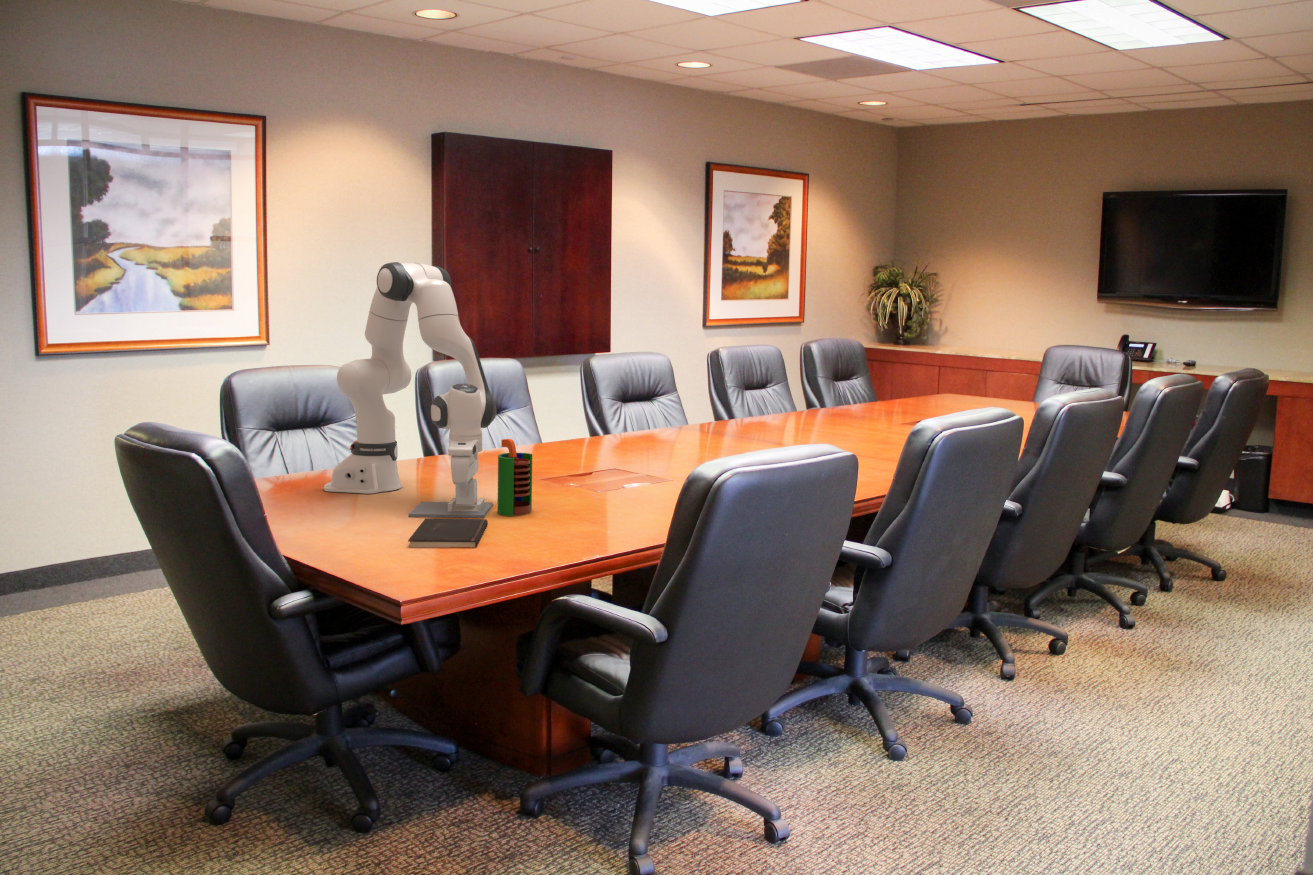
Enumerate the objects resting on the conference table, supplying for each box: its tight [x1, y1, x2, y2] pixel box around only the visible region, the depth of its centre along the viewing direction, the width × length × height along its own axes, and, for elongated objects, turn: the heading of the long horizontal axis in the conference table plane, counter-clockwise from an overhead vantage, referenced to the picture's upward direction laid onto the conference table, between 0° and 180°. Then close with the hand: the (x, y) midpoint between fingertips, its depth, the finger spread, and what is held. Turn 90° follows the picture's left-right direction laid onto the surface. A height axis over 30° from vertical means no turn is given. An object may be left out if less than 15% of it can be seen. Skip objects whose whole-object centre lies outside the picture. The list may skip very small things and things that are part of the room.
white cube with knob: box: [454, 478, 478, 505], centre depth 289 cm, size 5×5×8 cm
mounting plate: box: [408, 497, 494, 519], centre depth 289 cm, size 20×16×3 cm
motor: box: [497, 438, 533, 517], centre depth 288 cm, size 10×9×20 cm
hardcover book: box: [407, 517, 489, 549], centre depth 262 cm, size 16×23×2 cm
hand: (466, 494), depth 289 cm, fingers closed on white cube with knob, 5 cm apart
